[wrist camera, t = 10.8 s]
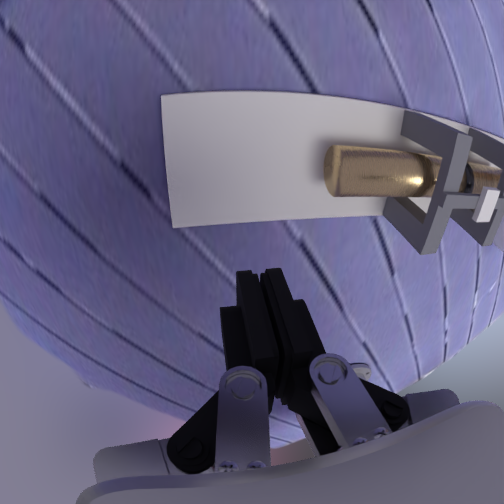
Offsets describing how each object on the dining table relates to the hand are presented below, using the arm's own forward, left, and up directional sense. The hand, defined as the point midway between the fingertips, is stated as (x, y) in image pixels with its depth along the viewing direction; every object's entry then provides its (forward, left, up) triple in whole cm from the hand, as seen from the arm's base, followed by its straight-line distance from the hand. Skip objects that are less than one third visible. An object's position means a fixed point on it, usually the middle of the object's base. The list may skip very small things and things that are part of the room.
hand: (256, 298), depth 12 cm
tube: (+1, -20, -13) cm, 24 cm away
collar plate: (+1, -16, -15) cm, 21 cm away
